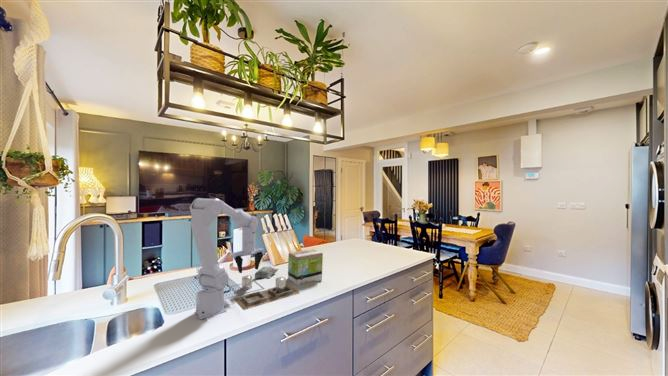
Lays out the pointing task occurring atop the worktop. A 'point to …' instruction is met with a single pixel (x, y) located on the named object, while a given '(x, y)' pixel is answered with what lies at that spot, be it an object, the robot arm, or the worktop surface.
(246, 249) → the robot arm
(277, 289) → the disc
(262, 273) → the packaged food
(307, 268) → the tea box
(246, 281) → the loose billet
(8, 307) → the worktop surface
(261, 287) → the tray
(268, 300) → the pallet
